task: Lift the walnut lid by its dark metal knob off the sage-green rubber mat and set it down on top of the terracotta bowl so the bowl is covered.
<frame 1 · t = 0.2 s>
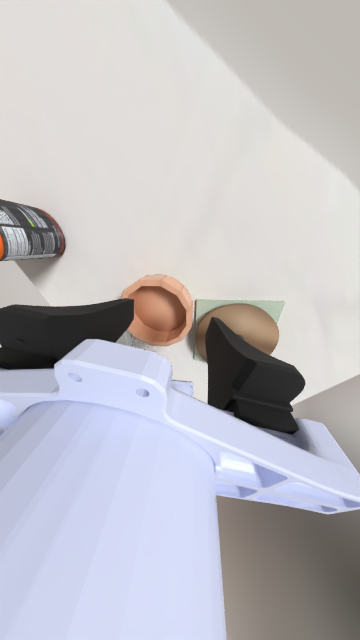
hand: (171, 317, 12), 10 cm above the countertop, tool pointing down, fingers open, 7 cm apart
mat: (231, 334, 24), on the countertop
bowl: (161, 306, 23), on the countertop
lid: (236, 346, 21), on the mat
supplement bottle: (48, 234, 19), on the countertop
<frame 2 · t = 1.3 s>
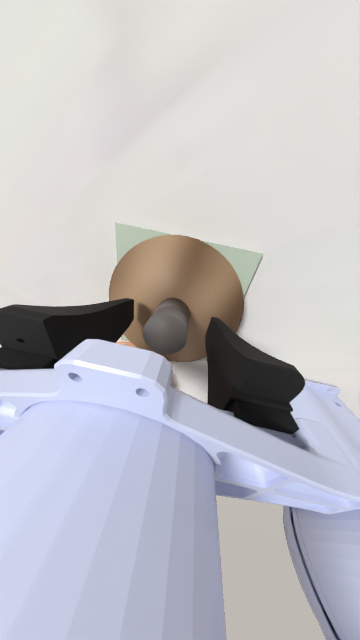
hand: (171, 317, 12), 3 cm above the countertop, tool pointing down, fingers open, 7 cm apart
mat: (176, 304, 15), on the countertop
lid: (171, 318, 12), on the mat
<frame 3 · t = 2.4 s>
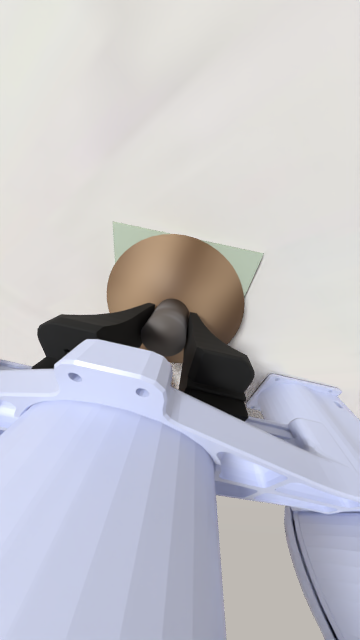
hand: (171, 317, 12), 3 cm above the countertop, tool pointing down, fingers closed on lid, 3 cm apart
mat: (175, 305, 15), on the countertop
lid: (170, 319, 12), on the mat, touching gripper
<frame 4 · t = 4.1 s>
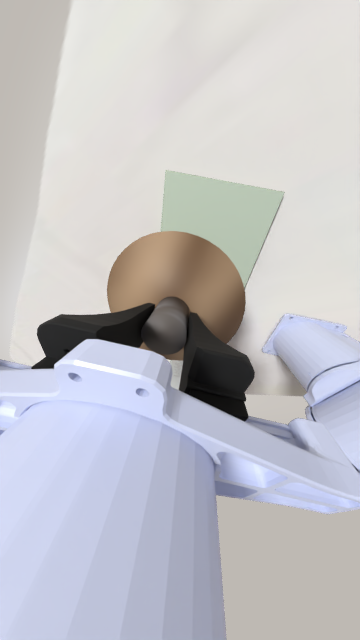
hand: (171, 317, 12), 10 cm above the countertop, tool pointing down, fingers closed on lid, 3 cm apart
mat: (207, 248, 18), on the countertop
lid: (170, 317, 12), point 10 cm above the countertop, touching gripper
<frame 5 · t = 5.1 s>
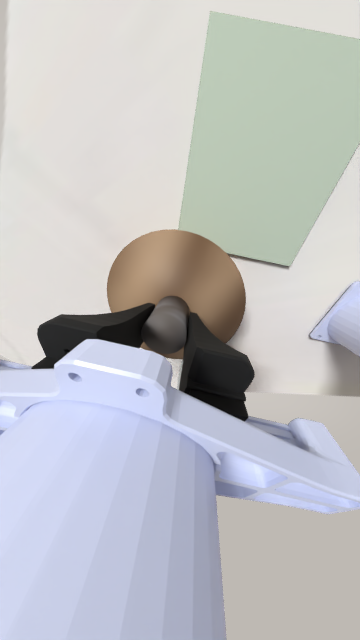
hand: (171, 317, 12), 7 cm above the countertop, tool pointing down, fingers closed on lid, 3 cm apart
mat: (258, 175, 12), on the countertop
lid: (170, 317, 12), point 7 cm above the countertop, touching gripper
when the fingers open (7 cm above the countertop, at t = 5.8 s): lid drops 1 cm, resting on bowl.
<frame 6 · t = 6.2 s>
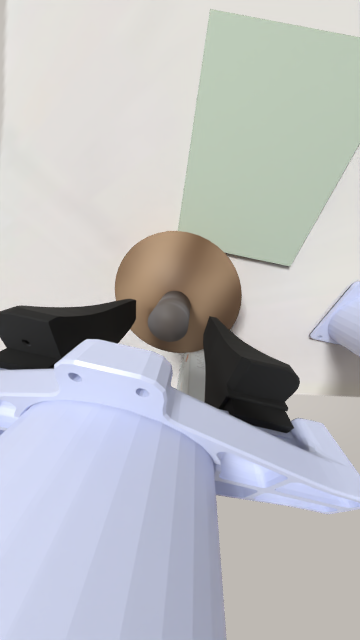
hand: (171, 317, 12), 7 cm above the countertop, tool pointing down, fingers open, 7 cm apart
mat: (259, 174, 12), on the countertop
lid: (173, 310, 13), point 6 cm above the countertop, touching bowl
small box: (201, 357, 23), on the countertop
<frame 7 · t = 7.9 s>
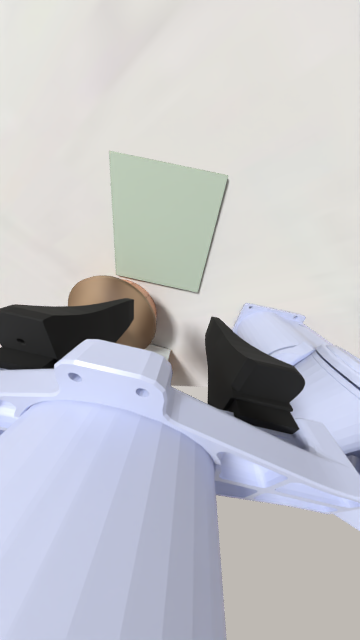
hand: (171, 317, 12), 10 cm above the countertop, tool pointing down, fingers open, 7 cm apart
mat: (162, 234, 17), on the countertop
lid: (107, 326, 18), point 6 cm above the countertop, touching bowl
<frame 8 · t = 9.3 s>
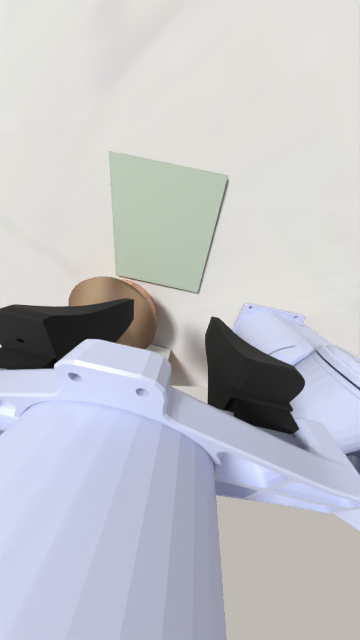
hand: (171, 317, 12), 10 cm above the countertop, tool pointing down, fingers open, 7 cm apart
mat: (162, 234, 18), on the countertop
lid: (107, 326, 19), point 6 cm above the countertop, touching bowl
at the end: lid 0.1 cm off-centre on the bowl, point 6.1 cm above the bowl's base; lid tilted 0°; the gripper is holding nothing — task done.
